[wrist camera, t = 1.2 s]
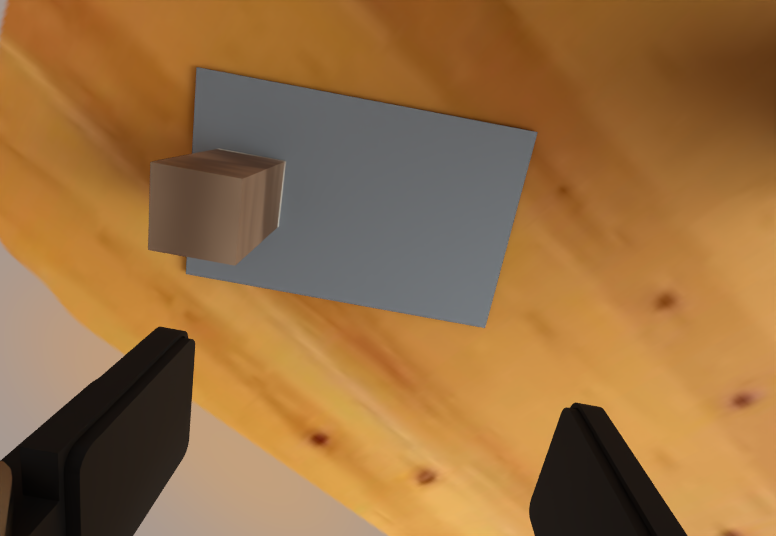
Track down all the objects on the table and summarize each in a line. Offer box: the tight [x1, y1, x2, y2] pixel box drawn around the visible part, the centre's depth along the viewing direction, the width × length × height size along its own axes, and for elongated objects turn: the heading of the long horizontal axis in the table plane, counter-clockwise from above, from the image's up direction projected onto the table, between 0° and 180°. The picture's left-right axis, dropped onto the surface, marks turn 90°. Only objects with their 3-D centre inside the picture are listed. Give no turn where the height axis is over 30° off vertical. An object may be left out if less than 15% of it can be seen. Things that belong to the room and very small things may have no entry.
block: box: [148, 149, 286, 266], centre depth 28 cm, size 4×4×9 cm
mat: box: [186, 67, 537, 328], centre depth 33 cm, size 22×14×1 cm, turn 80°
